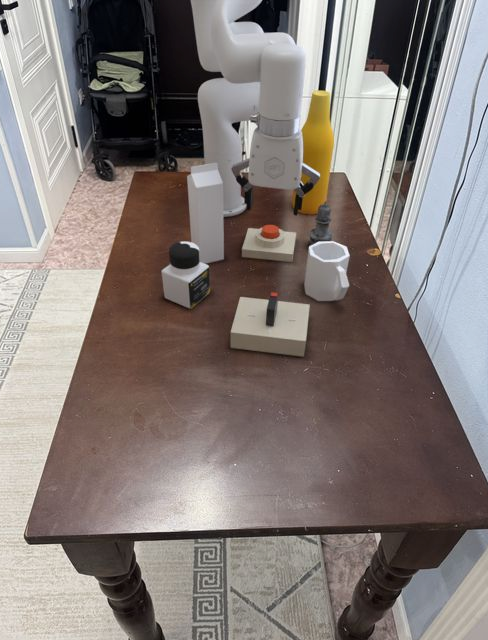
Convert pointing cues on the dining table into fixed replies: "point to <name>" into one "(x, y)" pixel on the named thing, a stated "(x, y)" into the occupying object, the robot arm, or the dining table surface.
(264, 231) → the button
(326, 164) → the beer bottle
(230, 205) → the robot arm
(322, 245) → the mug
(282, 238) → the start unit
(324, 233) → the gray chess piece
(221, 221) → the milk
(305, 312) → the beige flat block
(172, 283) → the medicine bottle
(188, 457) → the dining table surface
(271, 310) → the knob
